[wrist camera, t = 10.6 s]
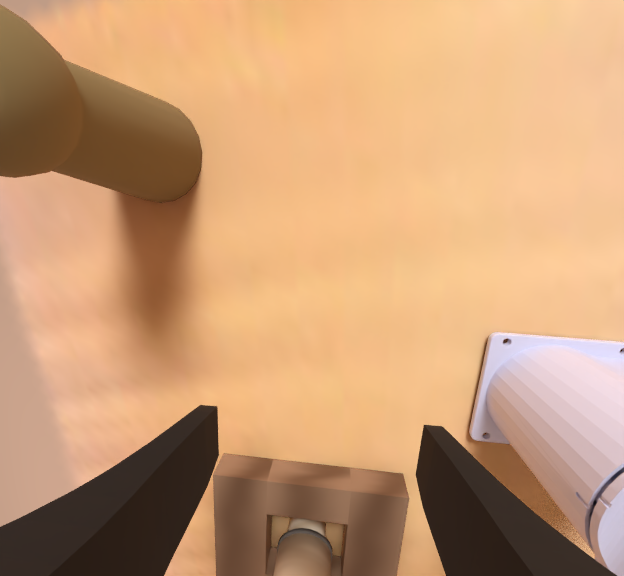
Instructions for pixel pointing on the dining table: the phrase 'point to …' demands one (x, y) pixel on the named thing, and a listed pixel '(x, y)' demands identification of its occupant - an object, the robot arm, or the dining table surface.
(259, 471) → the walnut board
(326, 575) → the ash peg
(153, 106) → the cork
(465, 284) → the dining table surface
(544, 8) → the dining table surface
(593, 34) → the dining table surface
